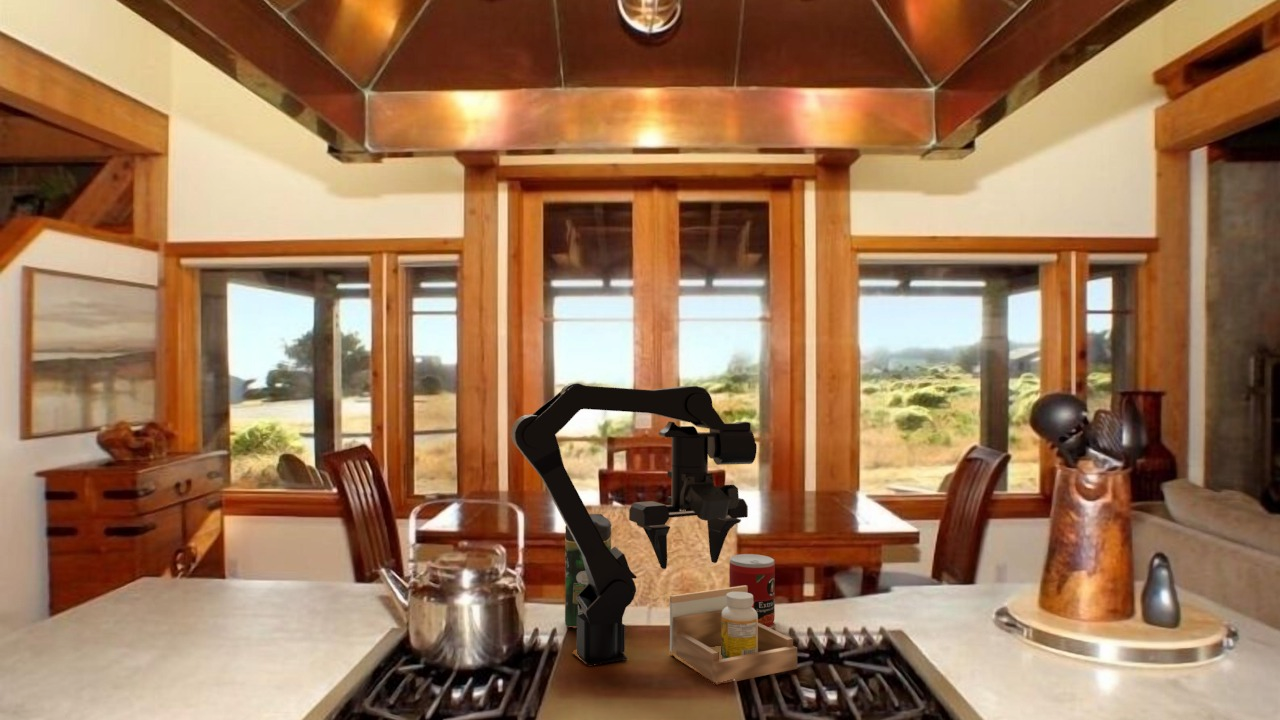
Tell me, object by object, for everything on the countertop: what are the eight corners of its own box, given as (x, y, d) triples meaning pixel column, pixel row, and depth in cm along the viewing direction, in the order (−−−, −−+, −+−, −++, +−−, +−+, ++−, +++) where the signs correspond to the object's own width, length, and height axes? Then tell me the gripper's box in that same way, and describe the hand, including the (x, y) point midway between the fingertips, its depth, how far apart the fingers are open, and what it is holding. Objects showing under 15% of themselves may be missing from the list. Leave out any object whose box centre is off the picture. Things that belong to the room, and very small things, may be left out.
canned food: (761, 632, 127) (761, 566, 127) (720, 623, 132) (720, 559, 132) (782, 621, 133) (782, 558, 133) (742, 612, 138) (742, 551, 138)
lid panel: (671, 656, 115) (671, 596, 115) (669, 655, 116) (669, 595, 116) (747, 642, 122) (747, 586, 122) (745, 641, 122) (745, 585, 122)
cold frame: (716, 685, 104) (716, 641, 104) (673, 657, 115) (673, 617, 115) (797, 668, 110) (797, 626, 111) (749, 643, 121) (749, 605, 121)
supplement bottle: (753, 669, 108) (753, 601, 109) (716, 664, 110) (717, 597, 111) (761, 656, 114) (761, 592, 114) (726, 652, 115) (726, 588, 116)
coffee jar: (569, 614, 136) (570, 510, 137) (613, 615, 136) (614, 511, 136) (560, 631, 127) (561, 519, 127) (607, 633, 126) (608, 520, 127)
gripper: (662, 473, 108) (662, 584, 107) (768, 467, 116) (768, 570, 116) (627, 466, 118) (627, 567, 117) (728, 461, 126) (728, 555, 126)
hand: (689, 565), depth 119 cm, fingers open, 9 cm apart
